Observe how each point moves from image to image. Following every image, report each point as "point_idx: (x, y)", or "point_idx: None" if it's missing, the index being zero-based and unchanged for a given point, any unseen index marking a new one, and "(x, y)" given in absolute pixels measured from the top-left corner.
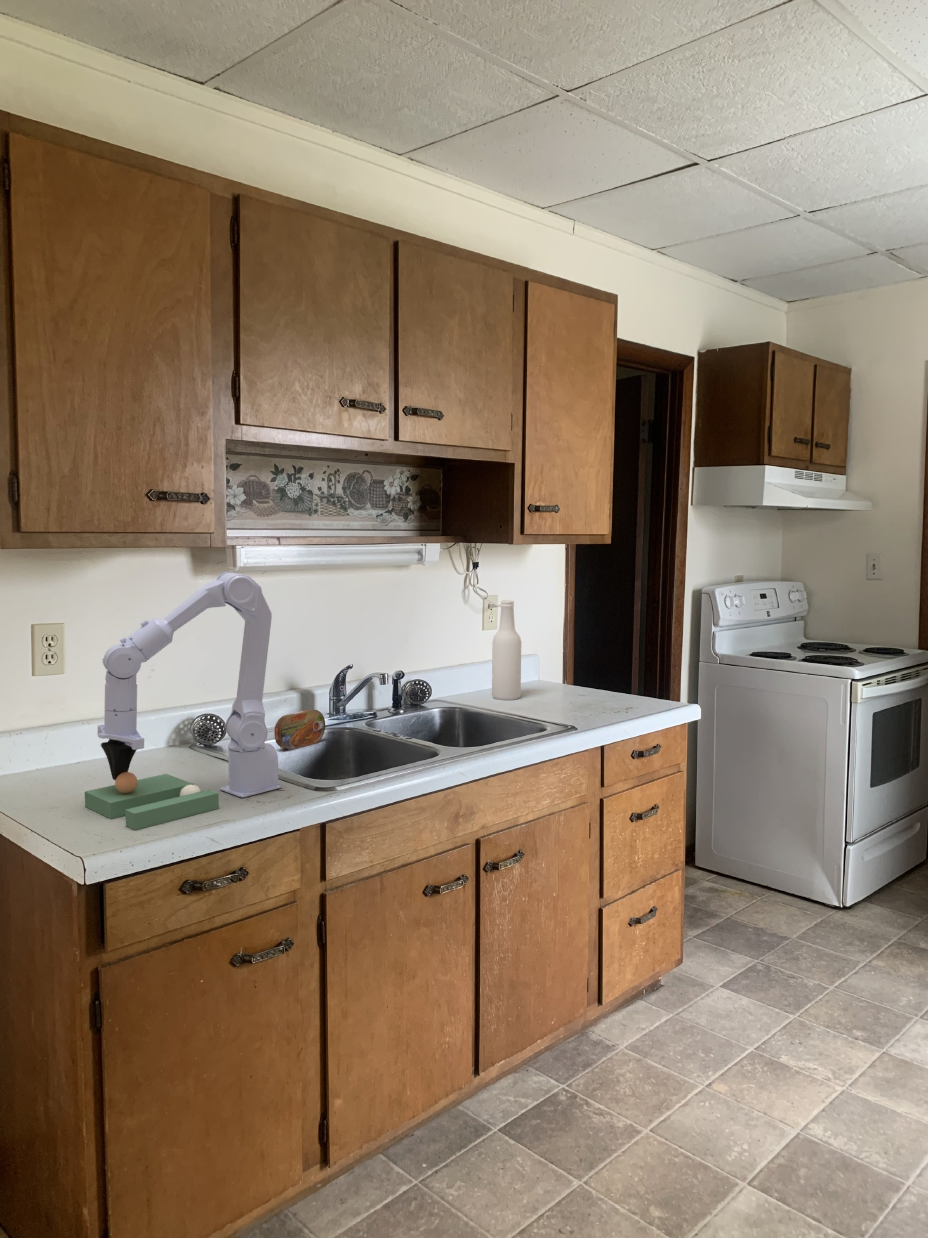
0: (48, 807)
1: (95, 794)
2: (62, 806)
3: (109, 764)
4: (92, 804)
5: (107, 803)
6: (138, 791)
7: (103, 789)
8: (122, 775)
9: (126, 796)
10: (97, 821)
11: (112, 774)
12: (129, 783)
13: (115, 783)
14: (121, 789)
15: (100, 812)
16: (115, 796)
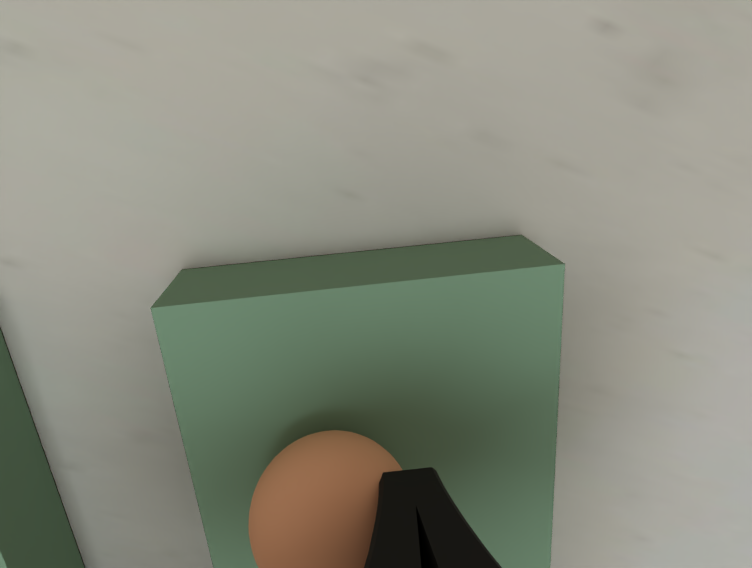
0: (689, 50)
1: (438, 298)
2: (639, 131)
3: (478, 556)
4: (429, 255)
5: (201, 298)
6: None
7: (513, 377)
8: (308, 544)
9: (246, 438)
10: (189, 191)
11: (421, 494)
12: (249, 525)
13: (345, 452)
14: (285, 449)
15: (319, 258)
16: (292, 385)
